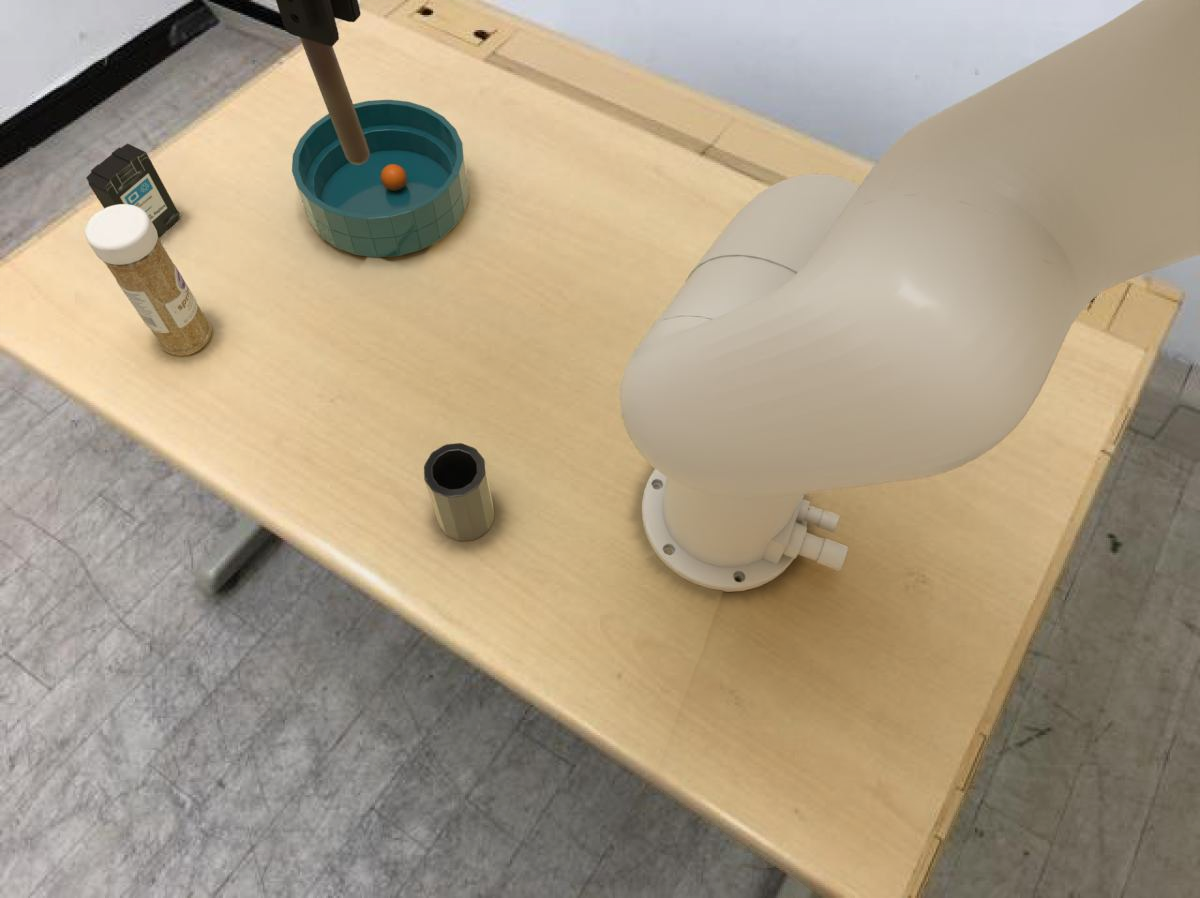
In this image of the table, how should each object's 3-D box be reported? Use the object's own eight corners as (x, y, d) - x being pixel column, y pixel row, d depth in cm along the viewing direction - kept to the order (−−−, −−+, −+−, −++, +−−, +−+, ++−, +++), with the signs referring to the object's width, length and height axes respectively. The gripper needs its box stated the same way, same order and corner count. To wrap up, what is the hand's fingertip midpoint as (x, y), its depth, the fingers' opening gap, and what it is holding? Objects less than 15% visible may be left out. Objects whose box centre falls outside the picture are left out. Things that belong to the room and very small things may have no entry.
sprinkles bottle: (221, 342, 76) (156, 231, 64) (169, 366, 74) (93, 256, 63) (201, 307, 78) (135, 192, 66) (150, 329, 76) (73, 216, 65)
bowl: (496, 172, 87) (491, 126, 82) (421, 282, 79) (411, 239, 75) (360, 129, 89) (348, 82, 84) (276, 231, 82) (258, 186, 77)
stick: (376, 156, 59) (292, -88, 46) (364, 172, 58) (275, -71, 45) (356, 151, 59) (266, -92, 46) (344, 167, 59) (249, -76, 45)
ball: (399, 156, 82) (388, 173, 81) (415, 175, 84) (405, 193, 83) (382, 161, 84) (371, 179, 83) (399, 181, 85) (388, 198, 84)
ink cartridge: (144, 252, 81) (103, 185, 74) (125, 242, 81) (83, 176, 74) (182, 217, 83) (146, 150, 76) (163, 208, 83) (126, 140, 76)
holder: (503, 506, 68) (495, 455, 62) (479, 552, 67) (467, 505, 60) (455, 487, 69) (441, 435, 62) (430, 532, 67) (412, 483, 60)
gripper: (161, -312, 30) (306, 131, 46) (391, -458, 37) (447, -33, 53) (-17, -352, 31) (185, 91, 47) (239, -486, 38) (339, -63, 54)
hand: (323, 23), depth 50 cm, fingers closed on stick, 1 cm apart
